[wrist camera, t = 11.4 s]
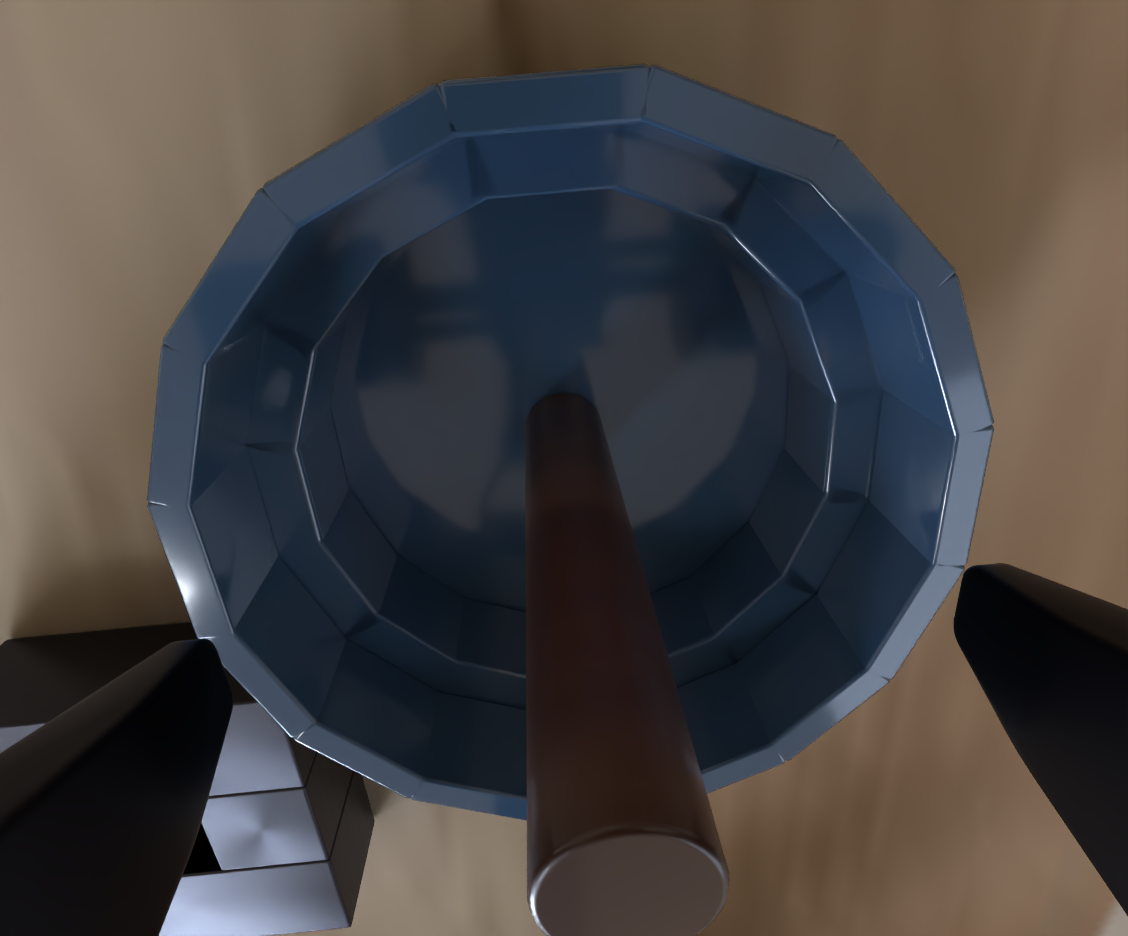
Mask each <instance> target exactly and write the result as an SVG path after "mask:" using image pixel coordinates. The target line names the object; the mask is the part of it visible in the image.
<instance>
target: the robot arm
mask: <svg viewBox="0 0 1128 936" xmlns="http://www.w3.org/2000/svg"><path fill="white" fill-rule="evenodd" d="M954 633H955V637H956V640H957V642H958V644H959V646H960V648H961V650H962V652H963V654H964V655H965V657H966V659H967V661H968V663H969V665H970V666H971V668H972V670H973V672H974V674H975V676H976V677H977V679H978V681H979V683H980V685H981V687H982V689H983V690H984V692H985V694H986V696H987V698H988V700H989V701H990V703H991V705H992V707H993V709H994V711H995V712H996V714H997V716H998V718H999V720H1000V722H1001V724H1002V725H1003V727H1004V729H1005V731H1006V733H1007V735H1008V736H1009V738H1010V740H1011V742H1012V743H1013V745H1014V747H1015V748H1016V750H1017V752H1018V754H1019V755H1020V757H1021V758H1022V760H1023V761H1024V763H1025V765H1026V766H1027V768H1028V769H1029V771H1030V772H1031V774H1032V775H1033V777H1034V778H1035V780H1036V781H1037V783H1038V784H1039V786H1040V787H1041V789H1042V790H1043V792H1044V793H1045V795H1046V796H1047V798H1048V799H1049V801H1050V802H1051V804H1052V805H1053V806H1054V808H1055V809H1056V811H1057V812H1058V814H1059V815H1060V817H1061V818H1062V820H1063V821H1064V823H1065V824H1066V826H1067V827H1068V829H1069V830H1070V832H1071V833H1072V835H1073V836H1074V837H1075V839H1076V840H1077V842H1078V843H1079V845H1080V846H1081V848H1082V849H1083V851H1084V852H1085V854H1086V855H1087V857H1088V858H1089V860H1090V861H1091V863H1092V864H1093V865H1094V867H1095V868H1096V870H1097V871H1098V873H1099V874H1100V876H1101V877H1102V879H1103V880H1104V882H1105V883H1106V885H1107V886H1108V888H1109V889H1110V891H1111V892H1112V894H1113V895H1114V896H1115V898H1116V899H1117V901H1118V902H1119V904H1120V905H1121V907H1122V908H1123V910H1124V911H1125V913H1126V914H1127V916H1128V609H1125V608H1123V607H1120V606H1118V605H1115V604H1112V603H1110V602H1107V601H1104V600H1102V599H1099V598H1096V597H1094V596H1091V595H1088V594H1086V593H1083V592H1080V591H1078V590H1075V589H1072V588H1070V587H1067V586H1064V585H1062V584H1059V583H1056V582H1054V581H1051V580H1048V579H1046V578H1043V577H1041V576H1038V575H1035V574H1033V573H1030V572H1027V571H1025V570H1022V569H1019V568H1017V567H1014V566H1011V565H1008V564H1003V563H997V564H987V565H976V566H972V567H970V568H968V569H967V570H966V571H965V573H964V575H963V578H962V582H961V587H960V592H959V597H958V602H957V607H956V612H955V617H954ZM232 709H233V695H232V690H231V687H230V684H229V682H228V679H227V676H226V673H225V671H224V668H223V665H222V663H221V660H220V657H219V654H218V652H217V649H216V647H215V645H214V644H213V643H212V642H211V641H210V640H207V639H195V640H184V641H175V642H172V643H170V644H168V645H166V646H165V647H163V648H162V649H160V650H159V651H157V652H156V653H154V654H153V655H151V656H149V657H148V658H146V659H145V660H143V661H142V662H140V663H139V664H137V665H136V666H134V667H132V668H131V669H129V670H128V671H126V672H125V673H123V674H122V675H120V676H119V677H117V678H116V679H114V680H112V681H111V682H109V683H108V684H106V685H105V686H103V687H102V688H100V689H99V690H97V691H95V692H94V693H92V694H91V695H89V696H88V697H86V698H85V699H83V700H82V701H80V702H78V703H77V704H75V705H74V706H72V707H71V708H69V709H68V710H66V711H65V712H63V713H61V714H60V715H58V716H57V717H55V718H54V719H52V720H51V721H49V722H48V723H46V724H44V725H43V726H41V727H40V728H38V729H37V730H35V731H34V732H32V733H31V734H29V735H27V736H26V737H24V738H23V739H21V740H20V741H18V742H17V743H15V744H14V745H12V746H10V747H9V748H7V749H6V750H4V751H3V752H1V753H0V936H159V934H160V931H161V928H162V926H163V923H164V921H165V918H166V916H167V913H168V911H169V908H170V905H171V903H172V900H173V898H174V895H175V893H176V890H177V888H178V885H179V882H180V880H181V877H182V875H183V872H184V870H185V867H186V865H187V862H188V860H189V857H190V854H191V851H192V849H193V846H194V843H195V840H196V838H197V835H198V831H199V828H200V825H201V822H202V818H203V815H204V812H205V808H206V804H207V801H208V797H209V794H210V790H211V786H212V783H213V779H214V775H215V772H216V768H217V765H218V761H219V757H220V754H221V750H222V747H223V743H224V739H225V736H226V732H227V729H228V725H229V721H230V718H231V714H232Z"/></svg>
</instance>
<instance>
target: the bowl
mask: <svg viewBox="0 0 1128 936" xmlns="http://www.w3.org/2000/svg"><path fill="white" fill-rule="evenodd" d="M163 342H164V343H163V344H162V346H161V354H160V365H159V376H158V387H157V398H156V409H155V420H154V431H153V442H152V452H151V463H150V474H149V485H148V496H147V500H148V502H149V503H148V509H149V512H150V514H151V517H152V520H153V522H154V525H155V527H156V530H157V533H158V535H159V538H160V541H161V543H162V546H163V549H164V551H165V554H166V557H167V559H168V562H169V565H170V567H171V570H172V573H173V575H174V578H175V580H176V583H177V586H178V588H179V591H180V594H181V596H182V599H183V602H184V604H185V607H186V610H187V612H188V615H189V618H190V620H191V623H192V626H193V628H194V631H195V634H196V636H197V638H198V639H207V640H210V641H211V642H212V643H213V644H214V645H215V647H216V649H217V652H218V654H219V657H220V660H221V663H222V665H223V666H224V667H225V668H226V669H227V670H228V671H229V673H230V674H231V675H232V676H233V677H234V678H235V679H236V680H237V681H238V682H239V683H240V684H241V685H242V686H243V687H244V688H245V689H246V691H247V692H248V693H249V694H250V695H251V696H252V697H253V698H254V699H255V700H256V701H257V702H258V703H259V704H260V705H261V706H262V707H263V709H264V710H265V711H266V712H267V713H268V714H269V715H270V716H271V717H272V718H273V719H274V720H275V721H276V722H277V723H278V724H279V725H280V726H281V728H282V729H283V730H284V731H285V732H286V733H287V734H288V735H289V736H290V737H294V740H295V741H297V742H299V743H301V744H303V745H304V746H306V747H308V748H310V749H312V750H314V751H316V752H318V753H320V754H322V755H324V756H326V757H328V758H330V759H332V760H334V761H336V762H338V763H340V764H341V765H343V766H345V767H347V768H349V769H351V770H353V771H355V772H357V773H359V774H361V775H363V776H365V777H367V778H369V779H371V780H373V781H375V782H377V783H379V784H380V785H382V786H384V787H386V788H388V789H390V790H392V791H394V792H396V793H398V794H400V795H402V796H404V797H406V798H412V799H413V800H415V801H421V802H426V803H432V804H438V805H443V806H449V807H454V808H460V809H466V810H471V811H477V812H482V813H488V814H494V815H499V816H505V817H511V818H516V819H522V820H527V747H526V522H525V424H526V420H527V417H528V415H529V413H530V411H531V410H532V408H533V407H534V406H535V405H536V404H537V403H538V402H539V401H540V400H542V399H544V398H545V397H547V396H550V395H553V394H557V393H571V394H576V395H579V396H581V397H583V398H585V399H586V400H588V401H589V402H590V403H591V404H592V405H593V406H594V407H595V408H596V410H597V411H598V413H599V416H600V418H601V422H602V426H603V429H604V433H605V436H606V440H607V443H608V447H609V450H610V454H611V457H612V461H613V464H614V468H615V471H616V475H617V479H618V482H619V486H620V489H621V493H622V496H623V500H624V503H625V507H626V510H627V514H628V517H629V521H630V524H631V528H632V532H633V535H634V539H635V542H636V546H637V549H638V553H639V556H640V560H641V563H642V567H643V570H644V574H645V577H646V581H647V584H648V588H649V592H650V595H651V599H652V602H653V606H654V609H655V613H656V616H657V620H658V623H659V627H660V630H661V634H662V637H663V641H664V645H665V648H666V652H667V655H668V659H669V662H670V666H671V669H672V673H673V676H674V680H675V683H676V687H677V690H678V694H679V697H680V701H681V705H682V708H683V712H684V715H685V719H686V722H687V726H688V729H689V733H690V736H691V740H692V743H693V747H694V750H695V754H696V758H697V761H698V765H699V768H700V772H701V775H702V779H703V782H704V786H705V789H706V793H710V792H712V791H715V790H717V789H720V788H723V787H725V786H728V785H730V784H733V783H735V782H738V781H740V780H743V779H745V778H748V777H751V776H753V775H756V774H758V773H761V772H763V771H766V770H768V769H771V768H774V767H776V766H779V765H781V764H784V763H785V760H786V761H789V760H791V759H792V758H793V757H794V756H796V755H797V754H798V753H800V752H801V751H802V750H803V749H805V748H806V747H807V746H809V745H810V744H811V743H812V742H814V741H815V740H816V739H818V738H819V737H820V736H821V735H823V734H824V733H825V732H826V731H828V730H829V729H830V728H832V727H833V726H834V725H835V724H837V723H838V722H839V721H841V720H842V719H843V718H844V717H846V716H847V715H848V714H850V713H851V712H852V711H853V710H855V709H856V708H857V707H858V706H860V705H861V704H862V703H864V702H865V701H866V700H867V699H869V698H870V697H871V696H873V695H874V694H875V693H876V692H878V691H879V690H880V689H882V688H883V687H884V686H885V685H887V684H888V683H889V680H890V679H893V678H894V676H895V675H896V673H897V672H898V670H899V669H900V667H901V666H902V664H903V662H904V661H905V659H906V658H907V656H908V655H909V653H910V652H911V650H912V649H913V647H914V646H915V644H916V643H917V641H918V640H919V638H920V637H921V635H922V634H923V632H924V630H925V629H926V627H927V626H928V624H929V623H930V621H931V620H932V618H933V617H934V615H935V614H936V612H937V611H938V609H939V608H940V606H941V605H942V603H943V602H944V600H945V599H946V597H947V595H948V594H949V592H950V591H951V589H952V588H953V586H954V585H955V583H956V582H957V580H958V579H959V577H960V576H961V574H962V573H963V571H964V569H965V567H964V565H966V564H967V560H968V555H969V550H970V545H971V540H972V536H973V531H974V526H975V521H976V516H977V511H978V506H979V501H980V496H981V491H982V486H983V481H984V476H985V471H986V466H987V461H988V456H989V451H990V446H991V441H992V436H993V431H994V428H993V426H992V424H993V423H994V420H993V416H992V412H991V408H990V404H989V400H988V396H987V392H986V388H985V384H984V380H983V376H982V372H981V368H980V364H979V360H978V356H977V352H976V348H975V344H974V340H973V335H972V331H971V327H970V323H969V319H968V315H967V311H966V307H965V303H964V299H963V295H962V291H961V287H960V283H959V279H958V276H957V275H956V274H955V269H954V267H953V266H952V265H951V264H950V263H949V262H948V260H947V259H946V258H945V257H944V256H943V255H942V254H941V252H940V251H939V250H938V249H937V248H936V247H935V246H934V244H933V243H932V242H931V241H930V240H929V239H928V238H927V237H926V235H925V234H924V233H923V232H922V231H921V230H920V229H919V227H918V226H917V225H916V224H915V223H914V222H913V221H912V219H911V218H910V217H909V216H908V215H907V214H906V213H905V211H904V210H903V209H902V208H901V207H900V206H899V205H898V204H897V202H896V201H895V200H894V199H893V198H892V197H891V196H890V194H889V193H888V192H887V191H886V190H885V189H884V188H883V186H882V185H881V184H880V183H879V182H878V181H877V180H876V178H875V177H874V176H873V175H872V174H871V173H870V172H869V171H868V169H867V168H866V167H865V166H864V165H863V164H862V163H861V161H860V160H859V159H858V158H857V157H856V156H855V155H854V153H853V152H852V151H851V150H850V149H849V148H848V147H847V145H846V144H845V143H844V142H843V141H842V140H840V139H837V137H836V136H835V135H833V134H831V133H828V132H826V131H823V130H821V129H818V128H816V127H813V126H811V125H808V124H805V123H803V122H800V121H798V120H795V119H793V118H790V117H788V116H785V115H783V114H780V113H777V112H775V111H772V110H770V109H767V108H765V107H762V106H760V105H757V104H755V103H752V102H749V101H747V100H744V99H742V98H739V97H737V96H734V95H732V94H729V93H727V92H724V91H721V90H719V89H716V88H714V87H711V86H709V85H706V84H704V83H701V82H699V81H696V80H693V79H691V78H688V77H686V76H683V75H681V74H678V73H676V72H673V71H671V70H668V69H665V68H663V67H660V66H658V65H651V66H650V67H649V65H647V64H633V65H621V66H609V67H597V68H585V69H573V70H561V71H549V72H536V73H524V74H512V75H500V76H488V77H476V78H464V79H452V80H444V81H442V82H440V85H439V84H437V83H436V84H431V85H429V86H428V87H426V88H424V89H423V90H421V91H419V92H418V93H416V94H414V95H413V96H411V97H409V98H408V99H406V100H404V101H403V102H401V103H399V104H397V105H396V106H394V107H392V108H391V109H389V110H387V111H386V112H384V113H382V114H381V115H379V116H377V117H376V118H374V119H372V120H371V121H369V122H367V123H365V124H364V125H362V126H360V127H359V128H357V129H355V130H354V131H352V132H350V133H349V134H347V135H345V136H344V137H342V138H340V139H339V140H337V141H335V142H334V143H332V144H330V145H328V146H327V147H325V148H323V149H322V150H320V151H318V152H317V153H315V154H313V155H312V156H310V157H308V158H307V159H305V160H303V161H302V162H300V163H298V164H296V165H295V166H293V167H291V168H290V169H288V170H286V171H285V172H283V173H281V174H280V175H278V176H276V177H275V178H273V179H271V180H270V181H268V182H266V183H265V184H264V186H263V188H260V189H259V190H257V192H256V194H255V195H254V197H253V198H252V200H251V201H250V203H249V205H248V206H247V208H246V209H245V211H244V212H243V214H242V216H241V217H240V219H239V220H238V222H237V223H236V225H235V227H234V228H233V230H232V231H231V233H230V234H229V236H228V238H227V239H226V241H225V242H224V244H223V245H222V247H221V248H220V250H219V252H218V253H217V255H216V256H215V258H214V259H213V261H212V263H211V264H210V266H209V267H208V269H207V270H206V272H205V274H204V275H203V277H202V278H201V280H200V281H199V283H198V285H197V286H196V288H195V289H194V291H193V292H192V294H191V296H190V297H189V299H188V300H187V302H186V303H185V305H184V307H183V308H182V310H181V311H180V313H179V314H178V316H177V318H176V319H175V321H174V322H173V324H172V325H171V327H170V329H169V330H168V332H167V333H166V335H165V336H164V339H163Z"/></svg>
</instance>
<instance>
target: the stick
mask: <svg viewBox="0 0 1128 936" xmlns="http://www.w3.org/2000/svg"><path fill="white" fill-rule="evenodd" d="M525 522H526V747H527V899H528V904H529V908H530V911H531V913H532V915H533V917H534V919H535V922H536V924H537V925H538V926H539V928H540V929H541V930H542V931H543V932H544V933H545V934H546V935H547V936H696V935H698V934H699V933H701V932H702V931H703V930H704V929H706V928H707V927H708V926H709V925H710V924H711V923H712V922H713V921H714V920H715V918H716V917H717V916H718V914H719V913H720V911H721V910H722V908H723V906H724V904H725V901H726V898H727V893H728V886H729V871H728V867H727V863H726V860H725V856H724V853H723V849H722V846H721V842H720V839H719V835H718V832H717V828H716V825H715V821H714V818H713V814H712V810H711V807H710V803H709V800H708V796H707V793H706V789H705V786H704V782H703V779H702V775H701V772H700V768H699V765H698V761H697V758H696V754H695V750H694V747H693V743H692V740H691V736H690V733H689V729H688V726H687V722H686V719H685V715H684V712H683V708H682V705H681V701H680V697H679V694H678V690H677V687H676V683H675V680H674V676H673V673H672V669H671V666H670V662H669V659H668V655H667V652H666V648H665V645H664V641H663V637H662V634H661V630H660V627H659V623H658V620H657V616H656V613H655V609H654V606H653V602H652V599H651V595H650V592H649V588H648V584H647V581H646V577H645V574H644V570H643V567H642V563H641V560H640V556H639V553H638V549H637V546H636V542H635V539H634V535H633V532H632V528H631V524H630V521H629V517H628V514H627V510H626V507H625V503H624V500H623V496H622V493H621V489H620V486H619V482H618V479H617V475H616V471H615V468H614V464H613V461H612V457H611V454H610V450H609V447H608V443H607V440H606V436H605V433H604V429H603V426H602V422H601V418H600V416H599V413H598V411H597V410H596V408H595V407H594V406H593V405H592V404H591V403H590V402H589V401H588V400H586V399H585V398H583V397H581V396H579V395H576V394H571V393H557V394H553V395H550V396H547V397H545V398H544V399H542V400H540V401H539V402H538V403H537V404H536V405H535V406H534V407H533V408H532V410H531V411H530V413H529V415H528V417H527V420H526V424H525Z"/></svg>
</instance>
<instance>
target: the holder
mask: <svg viewBox="0 0 1128 936" xmlns="http://www.w3.org/2000/svg"><path fill="white" fill-rule="evenodd" d="M195 639H198V638H197V636H196V634H195V631H194V628H193V626H192V623H191V622H189V623H179V624H168V625H158V626H147V627H136V628H126V629H115V630H105V631H94V632H84V633H73V634H63V635H52V636H41V637H31V638H20V639H10V640H6V641H5V642H4V643H3V644H2V645H0V753H1V752H3V751H4V750H6V749H7V748H9V747H10V746H12V745H14V744H15V743H17V742H18V741H20V740H21V739H23V738H24V737H26V736H27V735H29V734H31V733H32V732H34V731H35V730H37V729H38V728H40V727H41V726H43V725H44V724H46V723H48V722H49V721H51V720H52V719H54V718H55V717H57V716H58V715H60V714H61V713H63V712H65V711H66V710H68V709H69V708H71V707H72V706H74V705H75V704H77V703H78V702H80V701H82V700H83V699H85V698H86V697H88V696H89V695H91V694H92V693H94V692H95V691H97V690H99V689H100V688H102V687H103V686H105V685H106V684H108V683H109V682H111V681H112V680H114V679H116V678H117V677H119V676H120V675H122V674H123V673H125V672H126V671H128V670H129V669H131V668H132V667H134V666H136V665H137V664H139V663H140V662H142V661H143V660H145V659H146V658H148V657H149V656H151V655H153V654H154V653H156V652H157V651H159V650H160V649H162V648H163V647H165V646H166V645H168V644H170V643H172V642H175V641H184V640H195ZM223 668H224V671H225V673H226V676H227V679H228V682H229V684H230V687H231V690H232V695H233V709H232V714H231V718H230V721H229V725H228V729H227V732H226V736H225V739H224V743H223V747H222V750H221V754H220V757H219V761H218V765H217V768H216V772H215V775H214V779H213V783H212V786H211V790H210V794H209V797H208V801H207V804H206V808H205V812H204V815H203V818H202V822H201V825H200V828H199V831H198V835H197V838H196V840H195V843H194V846H193V849H192V851H191V854H190V857H189V860H188V862H187V865H186V867H185V870H184V872H183V875H182V877H181V880H180V882H179V885H178V888H177V890H176V893H175V895H174V898H173V900H172V903H171V905H170V908H169V911H168V913H167V916H166V918H165V921H164V923H163V926H162V928H161V931H160V934H159V936H269V935H279V934H289V933H299V932H309V931H319V930H328V929H338V928H348V927H351V925H352V921H353V916H354V912H355V907H356V902H357V898H358V893H359V889H360V884H361V880H362V875H363V871H364V866H365V862H366V857H367V853H368V848H369V844H370V839H371V835H372V830H373V826H374V818H373V814H372V810H371V807H370V803H369V800H368V796H367V793H366V789H365V786H364V782H363V778H362V775H361V774H359V773H357V772H355V771H353V770H351V769H349V768H347V767H345V766H343V765H341V764H340V763H338V762H336V761H334V760H332V759H330V758H328V757H326V756H324V755H322V754H320V753H318V752H316V751H314V750H312V749H310V748H308V747H306V746H304V745H303V744H301V743H299V742H297V741H295V740H294V737H290V736H289V735H288V734H287V733H286V732H285V731H284V730H283V729H282V728H281V726H280V725H279V724H278V723H277V722H276V721H275V720H274V719H273V718H272V717H271V716H270V715H269V714H268V713H267V712H266V711H265V710H264V709H263V707H262V706H261V705H260V704H259V703H258V702H257V701H256V700H255V699H254V698H253V697H252V696H251V695H250V694H249V693H248V692H247V691H246V689H245V688H244V687H243V686H242V685H241V684H240V683H239V682H238V681H237V680H236V679H235V678H234V677H233V676H232V675H231V674H230V673H229V671H228V670H227V669H226V668H225V667H224V666H223Z"/></svg>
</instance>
